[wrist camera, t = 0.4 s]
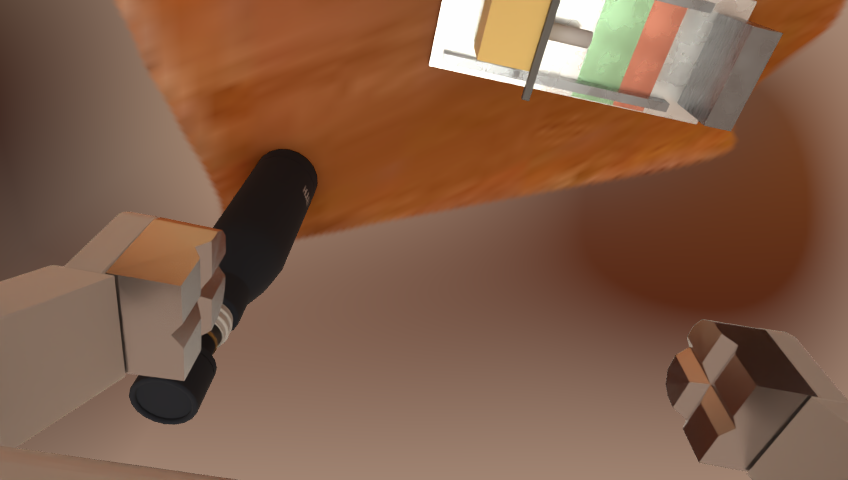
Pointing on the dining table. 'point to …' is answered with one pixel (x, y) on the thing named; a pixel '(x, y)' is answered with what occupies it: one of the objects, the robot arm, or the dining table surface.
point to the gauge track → (633, 55)
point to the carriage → (523, 35)
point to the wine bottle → (238, 273)
